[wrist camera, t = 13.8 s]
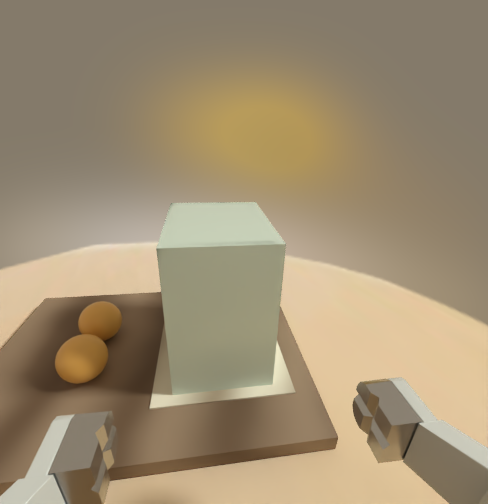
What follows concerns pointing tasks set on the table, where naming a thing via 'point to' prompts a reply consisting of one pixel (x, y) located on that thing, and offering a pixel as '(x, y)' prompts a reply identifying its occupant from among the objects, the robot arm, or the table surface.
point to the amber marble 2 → (81, 358)
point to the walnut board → (151, 397)
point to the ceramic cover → (220, 295)
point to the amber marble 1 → (100, 320)
